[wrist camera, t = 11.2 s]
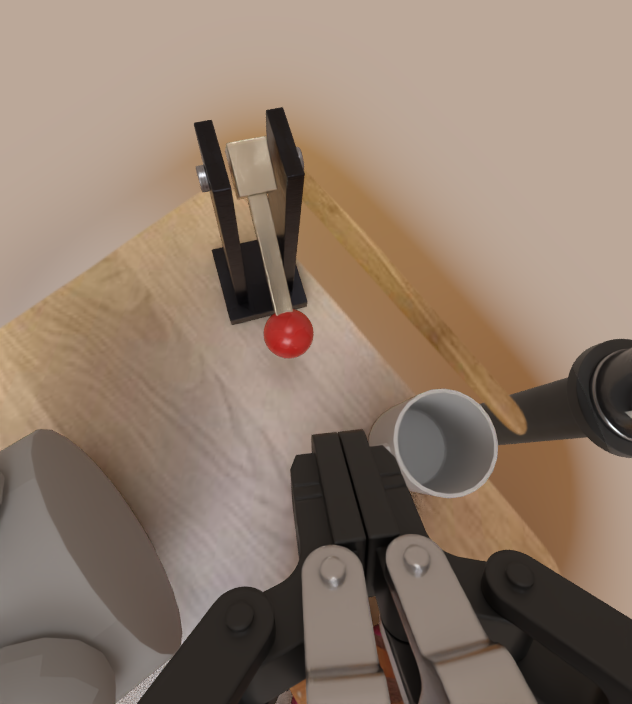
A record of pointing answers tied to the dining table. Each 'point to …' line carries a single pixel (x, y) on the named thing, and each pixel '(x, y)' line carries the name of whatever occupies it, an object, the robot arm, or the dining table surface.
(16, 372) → the dining table surface
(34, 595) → the alarm clock
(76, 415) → the dining table surface
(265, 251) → the power lever
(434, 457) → the cup
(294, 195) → the switch bracket
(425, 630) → the robot arm
